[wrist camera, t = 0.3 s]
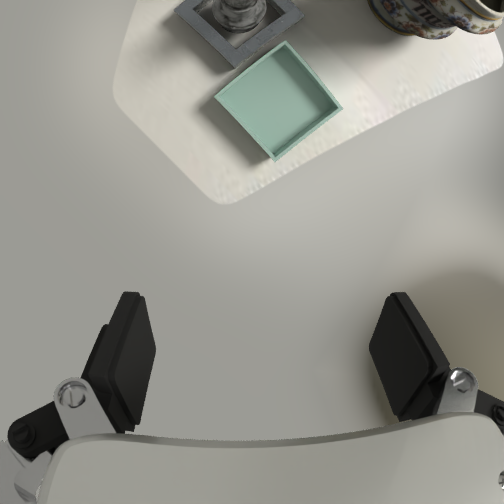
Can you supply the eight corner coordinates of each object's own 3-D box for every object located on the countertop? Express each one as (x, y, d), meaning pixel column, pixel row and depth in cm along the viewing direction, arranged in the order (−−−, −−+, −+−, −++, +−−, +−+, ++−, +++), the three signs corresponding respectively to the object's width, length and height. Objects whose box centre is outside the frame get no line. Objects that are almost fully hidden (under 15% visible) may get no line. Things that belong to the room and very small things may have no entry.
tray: (281, 43, 30) (285, 39, 28) (335, 107, 34) (343, 108, 32) (215, 96, 33) (214, 96, 31) (272, 156, 37) (274, 162, 35)
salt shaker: (255, 41, 30) (262, 19, 19) (207, 28, 29) (193, 2, 18) (270, 1, 27) (283, -33, 17) (223, -11, 26) (216, -49, 16)
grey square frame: (243, -34, 24) (243, -41, 22) (300, 20, 28) (305, 15, 26) (177, 14, 27) (173, 9, 25) (235, 68, 32) (234, 66, 29)
